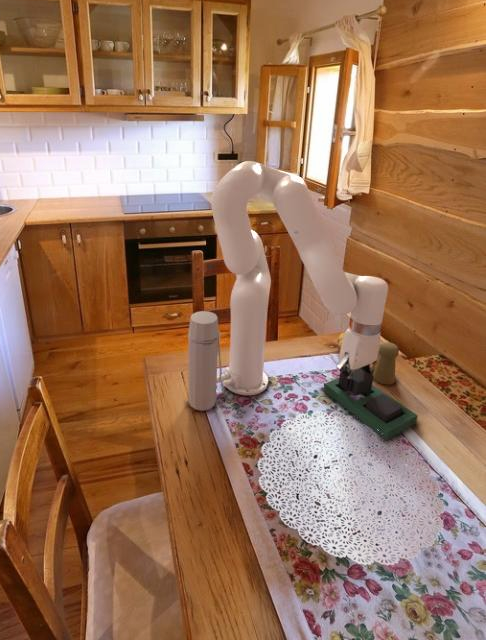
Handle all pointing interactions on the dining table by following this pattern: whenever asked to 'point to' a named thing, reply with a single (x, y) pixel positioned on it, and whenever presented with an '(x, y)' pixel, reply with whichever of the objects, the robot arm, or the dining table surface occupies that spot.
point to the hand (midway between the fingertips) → (355, 384)
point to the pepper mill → (386, 363)
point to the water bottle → (203, 360)
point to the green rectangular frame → (365, 415)
